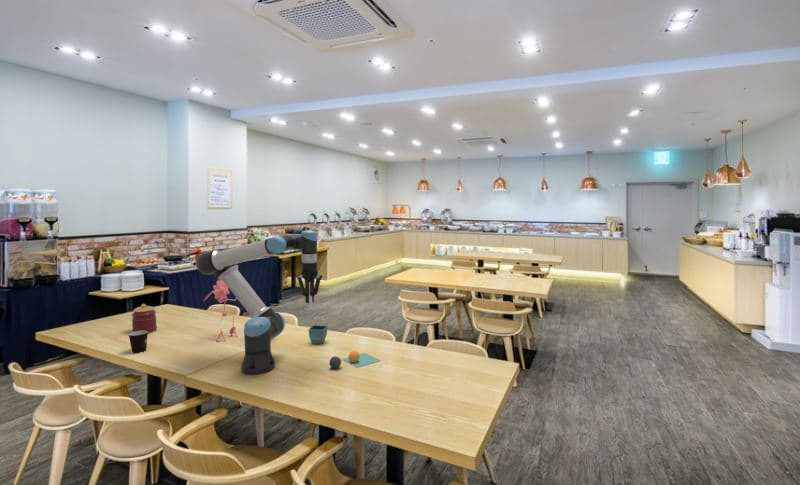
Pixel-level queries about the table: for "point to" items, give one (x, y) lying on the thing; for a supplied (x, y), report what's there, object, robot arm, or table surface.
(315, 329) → the flower pot
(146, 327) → the canister
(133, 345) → the coffee mug
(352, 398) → the table surface
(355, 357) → the orange ball
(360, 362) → the teal mark
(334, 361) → the black ball
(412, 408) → the table surface
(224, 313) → the pink stick figure
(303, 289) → the robot arm
